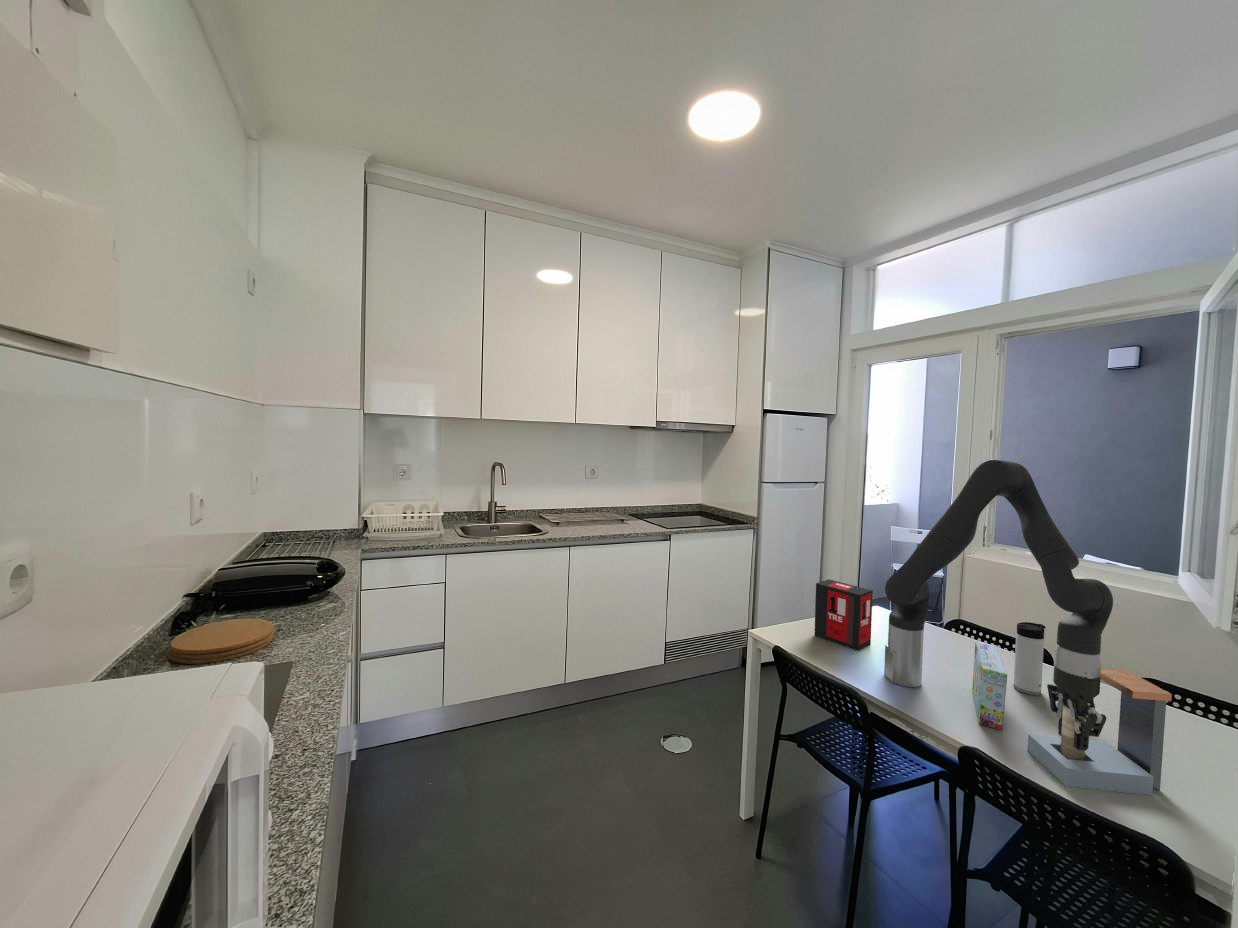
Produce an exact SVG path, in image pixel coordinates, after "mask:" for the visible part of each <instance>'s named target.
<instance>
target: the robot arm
mask: <svg viewBox="0 0 1238 928" xmlns="http://www.w3.org/2000/svg"><path fill="white" fill-rule="evenodd" d="M997 496H999V497H1004V499H1006V500H1007V502H1008V503H1010V505H1011V506H1012V507H1013V509H1014V510H1015V512H1016V514H1017V516H1018V519H1019V521H1020V527H1021V531H1022V532H1021V533H1022V536H1023V537H1022V538H1023V539H1024V542H1025V544H1026V546H1027V547H1028V549H1029V551H1030V552H1031V554H1032V555H1033V558H1034V559H1035V561H1036V562H1037V563H1038V566H1040V568H1041V573H1042V577H1043V579H1044V583H1045V586H1046V591H1047V592H1048V595H1049V597H1050V598H1051V600H1052V601H1053V603H1055V605H1056V606H1057V607H1059V608H1060V609H1062V610H1063V611H1065V612H1069V613H1071V615H1070V616H1068V617H1066V618H1063V619H1060V621H1059V622H1058V624H1057V631H1056V647H1055V650H1054V659H1053V660H1054V661H1053V677H1052V678H1053V679H1052V681H1053V684H1049V683H1048V684H1047V685H1046V687H1047V692H1048V699H1049V703H1050V710H1051V711H1052V712H1053V713H1055V714H1056V718H1057V719H1058V726H1057V729H1058V735H1059V737H1061V731H1062V713H1063V705H1065V706H1066V707H1068V708H1069V709H1070V714H1071V719H1072V720H1073V721H1074V724H1075V734H1074V747H1075V748H1076V749H1078V750H1087V749H1088V746H1089V740H1090V737H1095V738H1099V737H1100V735H1101V732H1102V730H1103V728H1104V726H1105V724H1106V721H1107V716H1106V715H1105V714H1103V713H1099V712H1098V711H1097V709H1096V705H1095V700H1094V698H1095V697H1097V696H1099V695H1100V693H1101V692H1100V691H1101V669H1102V658H1101V649H1102V634H1103V631H1104V630H1105V628H1106V626H1107V624H1108V621H1109V618H1110V616H1111V613H1112V610H1113V606H1114V597H1113V594H1112V592H1111V590H1110V589H1111V588H1109V587H1108V586H1107V584H1106V583H1104V582H1103V581H1101V580H1100V579H1099V580H1098V579H1095V578H1076V577H1075V576H1074V574H1073V572H1072V571H1073V570H1074V569H1076V568H1077V567H1078V566H1079V564H1080V560H1079V557H1078V556H1077V554H1076V552H1074V550H1073V549H1072V547H1071V545H1070V544H1069V543H1068V541H1067V540H1066V538H1065V537H1064V536H1063V534H1062V533H1061V531H1060V530H1059V528H1058V527H1057V525H1056V523H1055V522H1054V520H1053V519H1052V517H1051V515H1050V513H1049V512H1048V509H1047V507H1046V506H1045V504H1044V502H1043V500H1042V498H1041V496H1040V494H1039V490H1038V489H1037V486H1036V485H1035V481H1034V480H1033V478H1032V475H1031V474H1030V472H1029V470H1028V469H1027V468H1026V467H1025V466H1023V465H1022V464H1020V463H1018V462H1015V461H1010V460H1004V459H999V458H991V459H987V460H984V461H983V462H981V463H980V464H979V465H978V466H977V467H976V468H975V469H974V470H973V472H972V473H971V475H970V476H969V478H968V479H967V481H966V482H965V484H964V486H963V488H962V489H961V490H960V492H959V494H958V495H957V497H956V498H955V499H954V500H953V502H952V503H951V505H950V506H949V507H948V508H947V509H946V511H945V513H944V514H942V516H941V517H940V518H939V519H938V520H937V521H936V522H935V524H934V525H933V526H932V527H931V529H930V530H929V531H928V533H927V534H926V535H925V537H924V538H923V540H921V542H919V544H918V546H917V547H916V548H915V550H914V551H913V552H912V554H911V555H910V557H909V558H908V559H907V560H906V562H904V563H903V565H902V566H900V567H899V568H898V569H897V570H896V571H895V572H894V573H893V574H892V575H891V576H889V578H888V579H887V581H886V582H885V586H884V590H885V591H884V592H885V595H886V597H887V599H888V600H889V601H890V602H891V603H892V604H894V605H895V606H894V608H893V609H892V610H891V612H890V613H889V615H888V635H887V636H888V638H887V642H888V643H887V644H885V646H884V670H883V674H884V675H885V677H886V678H887V679H888V680H889V682H890V683H891V684H896V685H899V686H902V687H906V688H919V687H921V686H922V683H923V682H922V681H923V661H924V659H923V657H924V656H923V655H924V635H925V634H924V631H925V630H924V629H925V623H926V620H927V619H928V613H929V603H930V587H929V583H928V581H929V579H931V577H933V576H934V575H935V574H937V573H938V572H939V571H941V570H943V569H944V568H945V567H946V566H948V565H950V564H951V563H952V562H953V561H955V560H956V559H957V558H958V557H960V555H962V553H963V552H964V550H965V549H967V547H968V546H969V545H970V544H971V543H972V541H973V540H974V538H975V536H976V532H977V527H978V522H979V519H980V515H981V514H982V512H983V511H984V510H985V508H986V507H987V506H988V505H989V504H990V503H991V501H993V500H994V499H995V498H996V497H997ZM1056 702H1057V703H1056ZM1077 716H1084V717H1085V716H1086V718H1085V719H1083V718H1078V717H1077ZM1081 723H1085V724H1084V727H1083V728H1081Z"/></svg>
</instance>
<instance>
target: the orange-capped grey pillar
mask: <svg viewBox="0 0 1238 928" xmlns="http://www.w3.org/2000/svg"><path fill="white" fill-rule="evenodd" d="M1100 681H1103V682H1105V683H1106V684H1108V685H1109V686H1111V687H1113V688H1115V689H1116V690H1118V691H1120V706H1119V718H1118V719H1119V720H1118V736H1117V747H1116V748H1117V749H1116V750H1118V751H1119V752H1121V753H1122V754H1123V755H1125V756H1126V757H1127V758H1129V759H1130V760H1131V761H1133V762H1134V763H1135V764H1137V765H1138V766H1140V767H1141V768H1142V769H1144V770H1145V771H1146V772H1148V773H1149V774H1150V775H1152V776H1153V777H1154V780H1153V791H1160V790H1161V782H1162V765H1163V754H1164V751H1163V750H1164V740H1165V739H1164V738H1165V726H1166V725H1165V723H1166V713H1167V710H1166V709H1167V702H1172V696H1173V695H1172V693H1170V692H1169V691H1167V690H1164V689H1162V688H1160V686H1157V685H1155V684H1153V683H1152V682H1150V681H1149V680H1146V679H1144V678H1142V677H1140V676H1138V675H1136V674H1135V673H1133V672H1131V671H1129V670H1118V669H1116V670H1115V669H1103V668H1101V679H1100Z"/></svg>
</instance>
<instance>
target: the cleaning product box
mask: <svg viewBox="0 0 1238 928" xmlns="http://www.w3.org/2000/svg"><path fill="white" fill-rule="evenodd" d="M814 603H815V605H814V606H815V608H814V637H817V638H821V639H823V640H825V641H829V642H831V643H834V644H836V645H839V646H842V647H845V648H848V649H851V650H853V651H856V652H860V651H862V650H863V649H865V648H868V647H869V646H871V644H872V643H871V642H872V640H871V639H872V618H873V617H872V615H873V589H868V588H865V587H861V586H857V585H853V584H848V583H845V582H841V581H837V580H832V579H826V580H821V581H819V582H817V583H815V601H814Z"/></svg>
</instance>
